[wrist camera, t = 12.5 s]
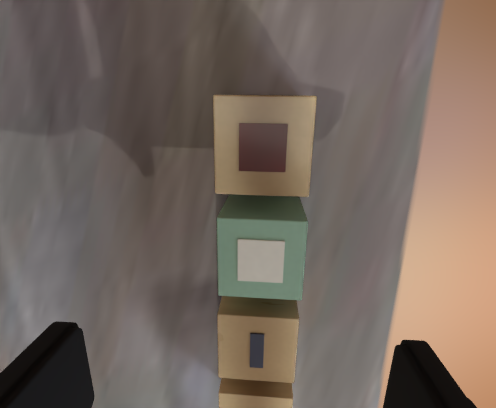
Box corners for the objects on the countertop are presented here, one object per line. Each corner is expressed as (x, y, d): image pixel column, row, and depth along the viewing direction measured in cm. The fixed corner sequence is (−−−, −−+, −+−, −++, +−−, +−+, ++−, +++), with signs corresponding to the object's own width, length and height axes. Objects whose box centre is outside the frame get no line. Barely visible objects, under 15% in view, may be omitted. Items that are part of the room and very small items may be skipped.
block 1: (227, 175, 19) (214, 194, 14) (227, 100, 17) (212, 94, 13) (299, 177, 18) (309, 197, 14) (304, 101, 17) (317, 95, 12)
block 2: (228, 194, 19) (215, 218, 14) (299, 196, 19) (308, 221, 14) (229, 257, 20) (217, 297, 16) (295, 260, 20) (302, 302, 16)
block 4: (228, 384, 24) (219, 447, 19) (228, 338, 22) (218, 394, 18) (285, 389, 23) (288, 453, 19) (288, 342, 22) (293, 400, 18)
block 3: (228, 325, 22) (217, 379, 18) (228, 272, 21) (216, 315, 16) (289, 329, 22) (294, 385, 17) (293, 275, 20) (299, 320, 16)
